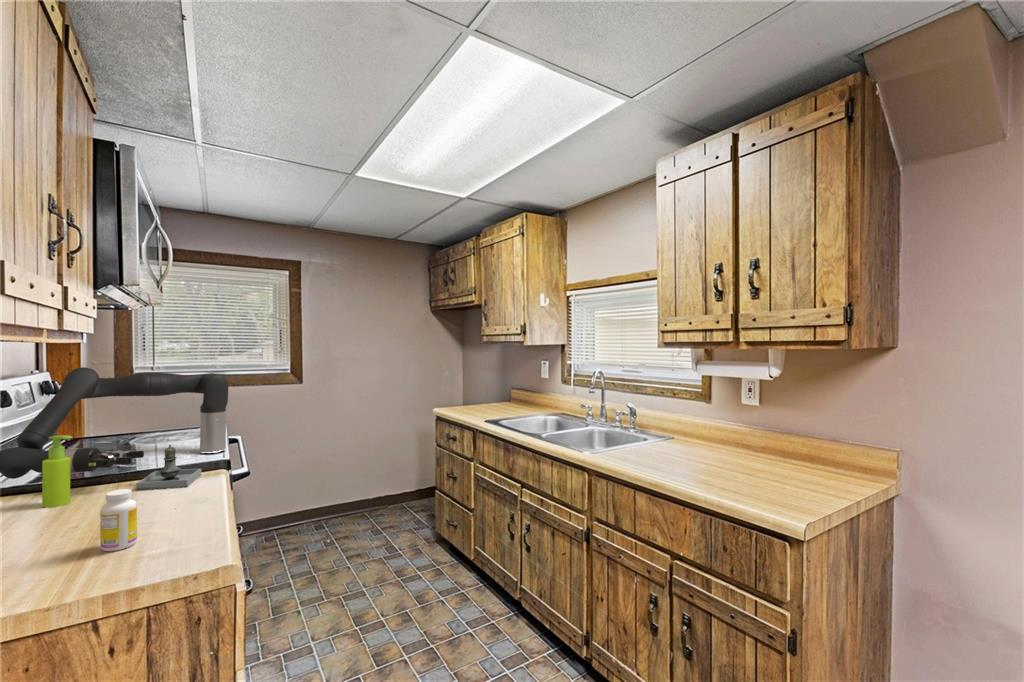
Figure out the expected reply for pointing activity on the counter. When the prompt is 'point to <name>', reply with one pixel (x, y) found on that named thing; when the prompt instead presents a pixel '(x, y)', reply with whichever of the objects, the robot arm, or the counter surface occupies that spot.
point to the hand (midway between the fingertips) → (137, 457)
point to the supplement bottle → (118, 521)
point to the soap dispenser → (56, 475)
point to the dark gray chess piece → (170, 465)
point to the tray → (155, 481)
